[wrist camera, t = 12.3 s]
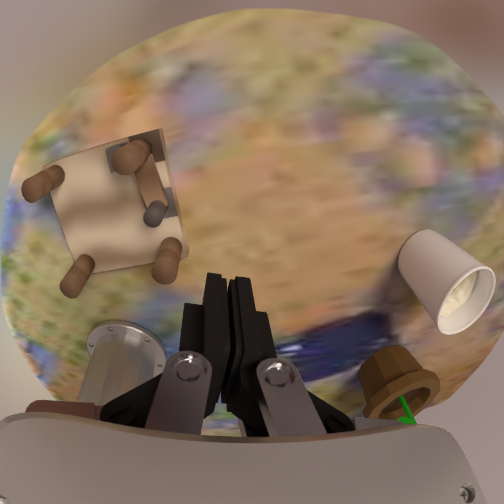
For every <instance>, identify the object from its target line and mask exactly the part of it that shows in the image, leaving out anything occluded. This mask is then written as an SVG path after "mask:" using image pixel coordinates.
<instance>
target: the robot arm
mask: <svg viewBox="0 0 504 504" xmlns="http://www.w3.org/2000/svg"><path fill="white" fill-rule="evenodd" d="M87 349H88V352H89V355H90V356H91V360H90V363H89V365H88V368H87V371H86V374H85V377H84V380H83V383H82V386H81V389H80V392H79V395H78V399H77V402H65V401H51V400H36V401H34V402H32V403H31V404H30V405H29V406H28V407H27V409H26V411H25V413H19V414H14V415H11V416H8V417H6V418H4V419H3V420H1V421H0V504H487V503H486V501H485V498H484V496H483V493H482V490H481V488H480V485H479V483H478V481H477V478H476V476H475V474H474V472H473V470H472V467H471V466H470V463H469V461H468V459H467V457H466V456H465V454H464V452H463V450H462V449H461V447H460V445H459V444H458V442H457V441H456V440H455V438H454V437H453V436H452V435H451V434H450V433H449V432H447V431H446V430H444V429H441V428H438V427H435V426H429V425H421V424H404V423H403V422H401V421H397V420H384V419H371V418H360V417H354V418H353V419H350V418H349V417H348V416H346V415H345V414H344V413H342V412H341V411H339V410H337V409H336V408H334V407H333V406H331V405H329V404H328V403H326V402H325V401H323V400H321V399H320V398H318V397H317V396H315V395H314V394H312V393H311V392H309V391H308V390H306V387H305V385H304V383H303V381H302V379H301V377H300V375H299V372H298V371H297V369H296V368H295V367H294V366H293V365H292V364H291V363H289V362H287V361H285V360H282V359H279V358H277V356H276V351H275V347H274V342H273V338H272V333H271V329H270V324H269V320H268V315H267V313H266V312H260V311H256V308H255V303H254V297H253V292H252V286H251V280H250V278H246V277H238V276H236V277H235V280H233V279H230V281H229V286H228V291H227V281H226V279H225V278H222V276H221V274H215V273H207V278H206V284H205V290H204V297H203V303H202V305H198V304H190V303H185V304H184V311H183V320H182V328H181V337H180V347H179V352H177V353H174V354H173V355H171V356H170V357H169V358H168V360H167V362H166V352H165V349H164V347H163V345H162V344H161V342H160V341H159V340H158V339H157V338H156V337H155V336H154V335H153V334H152V333H150V332H149V331H148V330H146V329H144V328H142V327H140V326H138V325H135V324H133V323H129V322H125V321H116V320H115V321H106V322H102V323H100V324H98V325H96V326H95V327H94V328H93V329H92V330H91V332H90V333H89V336H88V339H87ZM162 371H163V373H161V372H162ZM160 373H161V374H160ZM220 391H221V402H222V403H225V404H227V412H232V413H233V414H234V415H235V416H236V417H238V418H239V420H238V423H239V428H240V432H241V435H242V437H229V436H209V435H201V429H202V424H203V419H205V418H206V417H207V416H209V415H210V414H211V413H213V412H214V408H215V404H216V403H218V399H219V395H220Z"/></svg>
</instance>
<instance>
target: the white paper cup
mask: <svg viewBox="0 0 504 504" xmlns="http://www.w3.org/2000/svg"><path fill="white" fill-rule="evenodd" d="M398 269H399V272H400V274H401V275H402V277H403V278H404V280H405V281H406V283H407V284H408V285H409V287H410V288H411V289H412V291H413V292H414V294H415V295H416V296H417V298H418V299H419V301H420V302H421V304H422V305H423V306H424V308H425V309H426V311H427V312H428V314H429V315H430V317H431V318H432V320H433V321H434V323H435V324H436V326H437V328H438V330H439V331H440V332H441V333H443V334H446V335H452V334H456V333H458V332H461V331H463V330H464V329H466V328H467V327H469V326H470V325H471V324H473V323H474V322H475V321H476V320H477V319H478V318H479V317H480V315H481V314H482V313H483V312H484V310H485V309H486V307H487V306H488V304H489V302H490V300H491V298H492V295H493V292H494V289H495V275H494V272H493V271H492V270H491V269H490V268H489V267H487V266H486V265H484V264H483V263H481V262H480V261H479V260H477V259H476V258H475V257H473V256H472V255H470V254H469V253H468V252H466V251H465V250H463V249H462V248H460V247H459V246H458V245H456V244H455V243H453V242H452V241H450V240H449V239H447V238H446V237H444V236H443V235H441V234H439V233H438V232H436V231H434V230H430V229H425V230H421V231H419V232H417V233H415V234H413V235H412V236H411V237H410V238H409V239H408V240H407V241H406V242H405V244H404V245H403V247H402V249H401V251H400V254H399V257H398Z"/></svg>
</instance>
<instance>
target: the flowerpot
mask: <svg viewBox="0 0 504 504" xmlns="http://www.w3.org/2000/svg"><path fill="white" fill-rule="evenodd" d="M359 376H360V380H361V383H362V387H363V391H364V395H365V399H366V403H367V405H366V406H365V408H364V410H363V414H364V416H365V418H371V419H384V420H397V421H401V422H403V423H404V424H417V423H416V421H415V419H414V416H415V415H417V414H418V413H419V412H421V411H422V410H423V409H424V408H426V407H427V406H428V405H429V404H430V403H431V402H432V401H433V399H434V398H435V397H436V395H437V394H438V392H439V391H440V380H439V379H438V377H437V376H436V374H435V373H434V372H431V371H429V370H426V369H423V368H422V366H421V365H420V364H419V363H418V362H417V361H416V359H415V358H414V357H413V356H412V355H411V354H410V352H409V351H408V350H407V349H406V348H404V347H402V346H400V345H394V346H388V347H385V348H383V349H381V350H379V351H377V352H376V353H374V354H372V355H371V356H370V357H369V358H368V359H367V360H366V361H365V362H364V363H363V364H362V367H361V369H360V371H359Z"/></svg>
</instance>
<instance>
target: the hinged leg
mask: <svg viewBox="0 0 504 504" xmlns="http://www.w3.org/2000/svg"><path fill="white" fill-rule="evenodd" d="M111 163H112V167H113V169H114V170H115V171H116V172H117V173H118V174H120V175H130V174H132V173H133V172H134V174H135V176H136V179H137V182H138V185H139V188H140V190H141V193H142V196H143V199H144V201H145V204H146V207H147V210H146V212H145V213H144V215H143V221H144V223H145V224H146V225H147V226H148V227H151V228H155V227H158V226H159V225H160V224H161V222H162V220H163V218H164V215H165V213H166V211H167V208H168V199H167V196H166V193H165V190H164V187H163V184H162V182H161V179H160V176H159V173H158V170H157V167H156V164H155V161H154V158H153V155H152V145H151V143H150V142H149V141H148V140H146V139H143V138H139V139H136V140H134V141H132V142H130V143H128V144H126V145H124V146H123V147H121V148H119V149H117V150H116V151H115V152H114V154H113V155H112V159H111Z"/></svg>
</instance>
